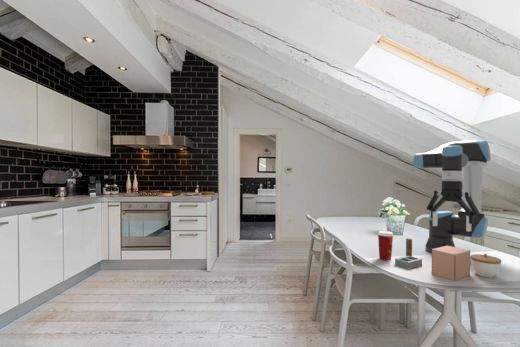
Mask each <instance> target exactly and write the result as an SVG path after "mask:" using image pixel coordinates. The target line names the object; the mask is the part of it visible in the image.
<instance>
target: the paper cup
mask: <svg viewBox="0 0 520 347" xmlns="http://www.w3.org/2000/svg"><path fill="white" fill-rule="evenodd" d="M377 236H378V237H377V238H378V256H379V260H382V261H387V260H389V261H391V260H392V255H393V239H394V233H393V232H392V231H387V230H379V231H378V233H377Z"/></svg>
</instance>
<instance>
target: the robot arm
mask: <svg viewBox="0 0 520 347" xmlns="http://www.w3.org/2000/svg"><path fill="white" fill-rule="evenodd" d="M491 156H492V155H491V149H490V145H489V142H488V141H487V140H483V139H481V140H480V139H479V140H478V139H475V140H461V141H451V142H450V141H449V142H448V143H445V144H441V145H438V146H437V147H436V148H434V149H433V150H430V151H427V152H420V153H415V154H414V155H413V158H412V162H413V163H412V164H413V166H414V168H416V169H441V180H442V181H441V191H440V190H434V191H433V196H432V197H431V198H430V201H429V203H428V205H427V206H426V210H428V211H430V213H429V215H428V216H429V217H428V238H427V241H426V243H425V246H424V247H425V248H424V249H425V251H426V252H429V253H432V249H435V248H439V247H443V246H452V247H456V244H455V242H454V236H457V237H465V238H470V239H480V240H481V239H483V238H484V237H485V236H486V233H487V229H488V226H489V218H488V217H486V216H485V213H484V212H483V210H482V197H483V196H482V195H483V176H484V175H483V173H484V167H486V165H487V163H488V162H490V161H491ZM440 196H441V197H440ZM439 197H440V199H439ZM437 200H438V202H437ZM446 202H452V203H457V204H459V206H460V207H461V208H460V209H459V210H457V214H454V212H453V211H451V210H446V211H445V210H443V211H442V210H441V211H437V210H439V208H440V207H441V206H442V205H443V204H444V203H446Z"/></svg>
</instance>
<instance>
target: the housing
mask: <svg viewBox="0 0 520 347" xmlns="http://www.w3.org/2000/svg"><path fill="white" fill-rule="evenodd" d="M470 256H471V249H465V248H460V247H456V246H455V247H452V246H443V247H439V248H435V249H432V252H431V275H433V276H438V277H441V278H444V279H447V280H451V281H453V282H454V281H455V282H456V281H458V280H461V279H463V278H466V277H468V276H471V258H470Z"/></svg>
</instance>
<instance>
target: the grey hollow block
mask: <svg viewBox="0 0 520 347" xmlns="http://www.w3.org/2000/svg"><path fill="white" fill-rule="evenodd" d="M394 265H395V266H397V265H398V266H397V267H400V266H401V267H400V268H405V269H408V270H410V269H411V270H412V269H413V268H417V267H418V268H419V267H422V266H423V258H419V257H415V256H413V255H412V256H406V255H405V256H401V257H397V258H395V259H394Z"/></svg>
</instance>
